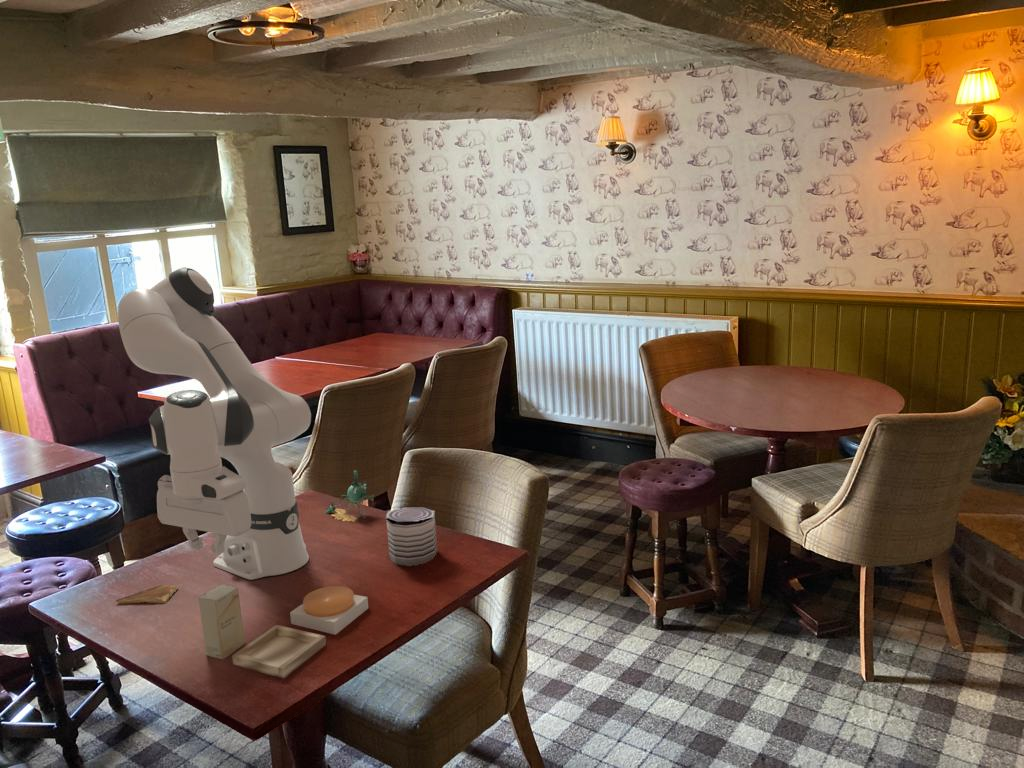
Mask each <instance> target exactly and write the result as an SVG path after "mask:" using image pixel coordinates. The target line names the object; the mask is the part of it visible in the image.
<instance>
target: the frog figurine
mask: <svg viewBox="0 0 1024 768" xmlns="http://www.w3.org/2000/svg"><path fill="white" fill-rule="evenodd" d="M353 478H354V481H353V482H352V483H351V485H350V486H349V487H348V489H347V492H346V493H347V494H342V495H340V501H339V504H338V506H339V507H342V504H341V503H342V501H343V502H344V504H345V506H346V509H342V508H337V505H336V504H334V501H333V500H331V505H328V507H326V509H325V511H324V514H331V516H332V517H334V519H335V520H337V521H341V522H353V523H356V522H355V521H357V520H358V517H356V516H354V515H349V514H348V511H350V506H351V505H353V506H356V507H357V509H358V512H359V517H361V515H362V518H363V519H366V518H367V517H366V516H364V513H363V510H362V508H361V506H360V505H359V503H360V502H363V500H365V498H367V499H369V500H371V501H372V502H374V497H375V495H374V494H371V495H369V492H366V489H367V487H368V485H367V483H368V482H367V481H366V480H363V485H362V483H361V482H360V481H359V474H358V471H357V470H354V471H353ZM343 497H345V498H343ZM370 497H372V498H370ZM346 500H347V501H349V504H348V505H347V503H346ZM346 510H347V511H346ZM332 513H333V514H332Z"/></svg>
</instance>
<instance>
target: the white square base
mask: <svg viewBox="0 0 1024 768" xmlns="http://www.w3.org/2000/svg"><path fill="white" fill-rule="evenodd" d="M368 599H369V598H368V596H365V595H364V596H363V595H358V594H354V604H353V606H352V607H351V608H349V609H348V610H346V611H345V612H342V613H340V614H337V615H333V616H326V617H318V616H312V615H309V614H307V613H306V612H305V610H304V604H303V603H302V604H301V605H298V606H297V607H296V608H294V609H293V610H292V611H290V612H289V614H290V616H289V617H290V622H291V623H290V624H291V625H295V626H299V627H303V628H306V629H311V630H316V631H318V632H323V633H327V634H331V635H334V636H336V635H337V634H339V633H340V632H341V631H342V630H343V629H344V628H346V627H347V626H348V625H350V624H351V623H352V622H353V621H354V620H356V619H357V618H358V617H359V616H361V615H362V614H363V613H364V612H366V611H367V610H368V609H369V600H368Z"/></svg>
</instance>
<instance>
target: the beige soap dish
mask: <svg viewBox="0 0 1024 768" xmlns="http://www.w3.org/2000/svg"><path fill="white" fill-rule="evenodd" d="M326 640H327V639H326V635H323V634H318V633H314V632H309V631H306V630H305V631H304V630H301V629H296V628H292V627H287V626H284V625H278V624H276V625H274V626H273V627H272V628H269V629H268V630H267V631H266V632H264V633H263V634H261V635H259V636H258V637H256V638H255V639H254V640H252V641H250V643H248V644H246V645H245V646H243V648H241V649H239V650H238V651H236V652H235V653H233V654H231V657H232V658H231V659H232V664H233V665H234V666H238V667H241V668H245V669H249V670H252V671H256V672H258V673H263V674H265V675H269V676H273V677H276V678H279V679H282V680H283V679H285V678H287V677H288V676H289V675H291V674H292V673H293V672H294V671H296V670H297V669H298V668H299V667H300V666H302V665H303V664H304V663H305V662H306V661H307V662H308V660H309V659H310V658H311V657H313V656H314V655H315V654H316V653H318V652H319V651H320V650H322V649H323V648H324V647H325V646H326V645H327V641H326Z"/></svg>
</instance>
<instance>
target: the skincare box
mask: <svg viewBox="0 0 1024 768" xmlns="http://www.w3.org/2000/svg"><path fill="white" fill-rule="evenodd" d="M198 604H199V611H200V618H201V619H200V620H201V626H202V633H203V642H204V648H205V655H206V656H208V657H212V658H216V659H220V660H224V659H225V658H227V657H229V656H230V655H232V653H234V652H235V651H237V650H238V649H239V648H241V647H242V646H243V645H245V643H246V640H245V633H244V622H243V616H242V615H243V614H242V609H241V601H240V595H239V586H234V585H231V584H230V585H229V584H224V583H221V584H219V585H217V586H216V587H214V588H212V589H210V590H208V591H207V592H205V593H204V594H202V595H200V596H199V597H198Z"/></svg>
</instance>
